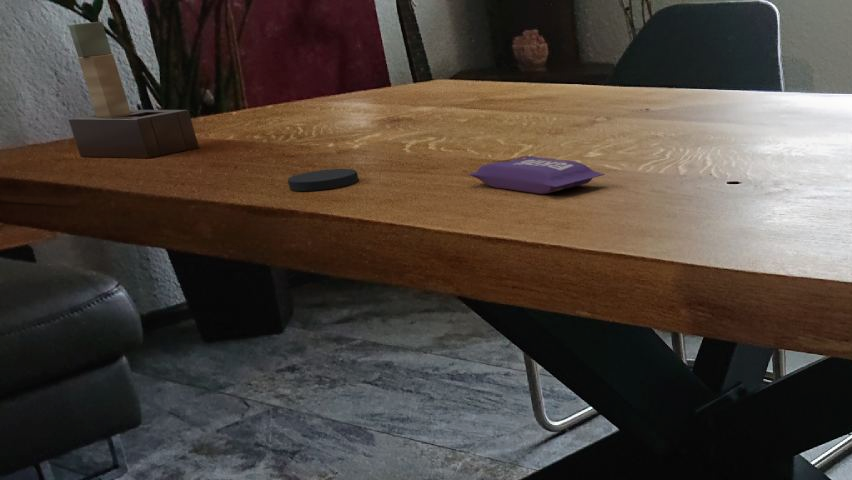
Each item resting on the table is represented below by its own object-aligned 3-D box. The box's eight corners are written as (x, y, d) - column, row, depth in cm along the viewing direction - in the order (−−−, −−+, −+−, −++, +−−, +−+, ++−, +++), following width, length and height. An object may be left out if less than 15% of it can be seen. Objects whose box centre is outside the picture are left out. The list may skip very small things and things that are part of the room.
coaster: (287, 194, 91) (285, 184, 91) (292, 182, 96) (290, 173, 96) (358, 186, 93) (356, 176, 92) (359, 175, 98) (357, 166, 97)
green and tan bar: (119, 154, 118) (78, 24, 113) (104, 154, 119) (63, 25, 114) (145, 149, 121) (107, 21, 115) (131, 149, 122) (91, 22, 116)
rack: (148, 158, 114) (137, 119, 113) (80, 156, 119) (67, 118, 117) (199, 147, 119) (188, 109, 118) (131, 146, 124) (120, 109, 122)
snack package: (604, 161, 85) (554, 174, 82) (608, 186, 86) (558, 200, 83) (513, 151, 92) (463, 162, 89) (517, 174, 93) (468, 186, 90)
